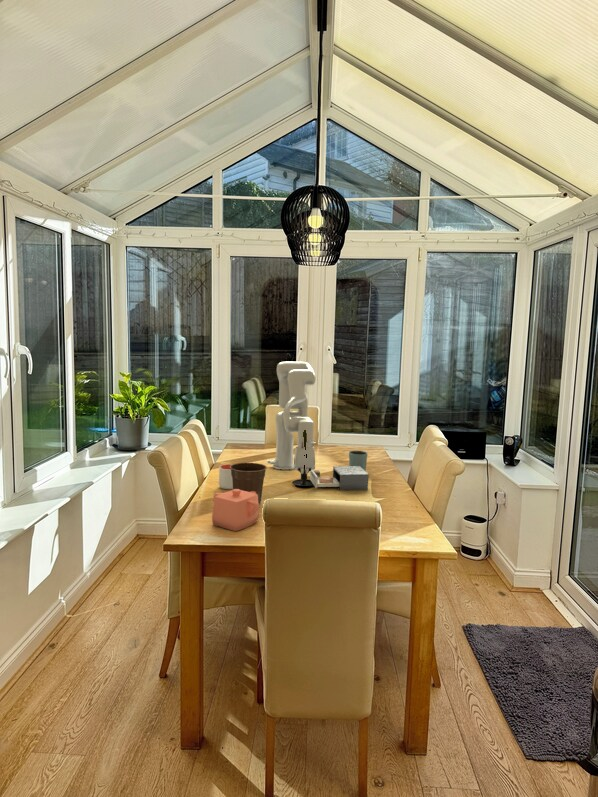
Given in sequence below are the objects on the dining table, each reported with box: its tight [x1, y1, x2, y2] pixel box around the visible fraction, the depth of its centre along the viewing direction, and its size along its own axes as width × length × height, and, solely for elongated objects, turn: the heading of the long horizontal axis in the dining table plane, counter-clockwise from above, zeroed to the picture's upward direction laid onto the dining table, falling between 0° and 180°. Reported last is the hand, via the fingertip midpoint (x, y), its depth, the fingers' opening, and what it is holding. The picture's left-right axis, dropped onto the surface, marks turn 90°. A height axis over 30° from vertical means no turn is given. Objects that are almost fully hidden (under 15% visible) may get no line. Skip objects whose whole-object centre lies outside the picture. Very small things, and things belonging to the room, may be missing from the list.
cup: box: [218, 464, 233, 490], centre depth 263 cm, size 10×10×10 cm
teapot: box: [211, 489, 260, 532], centre depth 216 cm, size 20×22×14 cm
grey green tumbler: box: [348, 450, 368, 472], centre depth 296 cm, size 10×10×12 cm
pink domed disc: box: [319, 475, 333, 483], centre depth 271 cm, size 7×7×2 cm
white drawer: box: [309, 470, 340, 489], centre depth 271 cm, size 13×15×6 cm
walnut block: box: [313, 469, 321, 478], centre depth 283 cm, size 4×4×4 cm
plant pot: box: [230, 462, 268, 505], centre depth 241 cm, size 16×16×16 cm
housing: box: [332, 465, 370, 491], centre depth 273 cm, size 14×16×8 cm
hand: (303, 481), depth 269 cm, fingers closed
